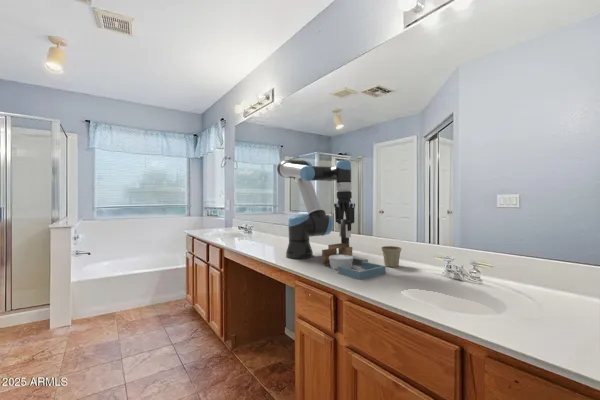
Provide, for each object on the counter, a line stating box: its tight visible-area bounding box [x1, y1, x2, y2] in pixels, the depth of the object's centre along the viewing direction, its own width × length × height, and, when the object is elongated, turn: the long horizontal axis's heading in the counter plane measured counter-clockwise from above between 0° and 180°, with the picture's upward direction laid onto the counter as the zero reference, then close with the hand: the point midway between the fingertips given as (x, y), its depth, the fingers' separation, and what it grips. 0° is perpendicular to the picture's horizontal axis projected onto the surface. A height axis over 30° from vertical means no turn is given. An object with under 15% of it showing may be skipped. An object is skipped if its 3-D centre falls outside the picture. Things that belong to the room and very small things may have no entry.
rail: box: [337, 253, 369, 267], centre depth 145 cm, size 19×3×3 cm, turn 34°
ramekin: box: [329, 255, 353, 271], centre depth 136 cm, size 11×11×5 cm
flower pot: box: [380, 245, 403, 268], centre depth 137 cm, size 9×9×9 cm
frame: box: [337, 261, 387, 280], centre depth 125 cm, size 13×16×3 cm
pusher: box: [321, 218, 353, 266], centre depth 145 cm, size 6×16×21 cm, turn 124°
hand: (345, 236), depth 149 cm, fingers closed on pusher, 4 cm apart
